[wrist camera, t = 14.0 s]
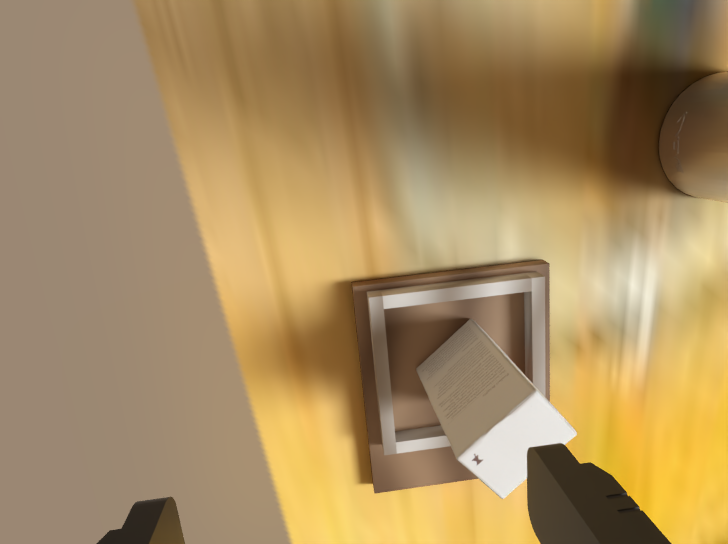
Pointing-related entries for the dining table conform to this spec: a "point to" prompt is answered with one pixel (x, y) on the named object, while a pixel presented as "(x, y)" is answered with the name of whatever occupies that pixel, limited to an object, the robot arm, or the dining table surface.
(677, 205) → the dining table surface
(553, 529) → the robot arm
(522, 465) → the skincare box
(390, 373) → the brown shallow box
